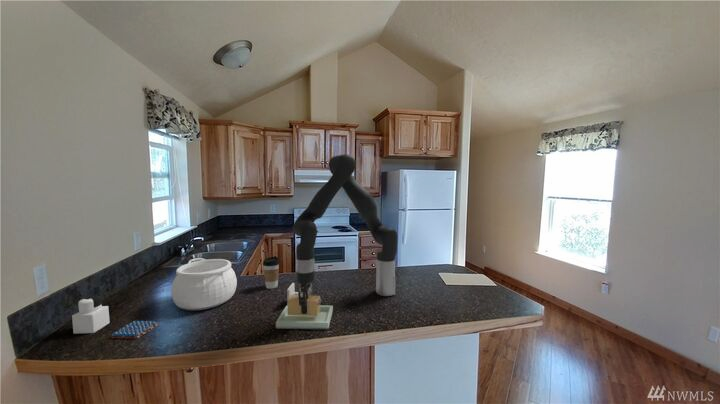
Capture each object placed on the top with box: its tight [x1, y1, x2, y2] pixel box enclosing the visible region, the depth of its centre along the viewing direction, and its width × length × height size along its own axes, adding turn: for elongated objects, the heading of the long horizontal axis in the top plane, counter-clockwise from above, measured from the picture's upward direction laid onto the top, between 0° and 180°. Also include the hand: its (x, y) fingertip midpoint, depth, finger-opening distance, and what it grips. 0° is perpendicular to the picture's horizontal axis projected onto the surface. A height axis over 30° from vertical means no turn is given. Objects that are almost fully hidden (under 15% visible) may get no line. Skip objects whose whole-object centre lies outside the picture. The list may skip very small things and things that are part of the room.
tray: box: [275, 304, 334, 330], centre depth 108 cm, size 20×14×2 cm
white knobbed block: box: [71, 295, 110, 335], centre depth 101 cm, size 7×7×12 cm
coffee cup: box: [262, 256, 280, 290], centre depth 142 cm, size 8×8×15 cm
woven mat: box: [110, 320, 159, 340], centre depth 100 cm, size 10×11×2 cm
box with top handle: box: [286, 295, 322, 316], centre depth 108 cm, size 13×5×6 cm, turn 85°
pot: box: [170, 257, 238, 311], centre depth 125 cm, size 29×26×17 cm
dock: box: [286, 282, 299, 301], centre depth 122 cm, size 9×8×8 cm
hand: (305, 309), depth 108 cm, fingers closed on box with top handle, 5 cm apart
